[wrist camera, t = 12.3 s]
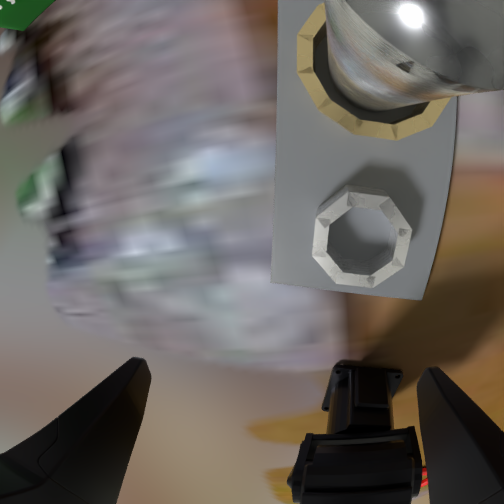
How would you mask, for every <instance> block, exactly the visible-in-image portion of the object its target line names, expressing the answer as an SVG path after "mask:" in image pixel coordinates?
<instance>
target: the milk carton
mask: <svg viewBox="0 0 504 504" xmlns="http://www.w3.org/2000/svg"><path fill="white" fill-rule="evenodd" d="M54 1H55V0H0V27H2V28H9V29H16V30H22V31H24V30H25V29H26V28H27V27H28V26H29V25H30V24H31V23H32V22H33V21H34V20H35V19H36V18H37V17H38V16H39V15H40V14H41V13H42V12H43V11H44V10H45V9H46V8H47V7H48V6H49V5H51V4H52V3H53V2H54Z"/></svg>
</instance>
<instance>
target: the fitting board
mask: <svg viewBox="0 0 504 504" xmlns="http://www.w3.org/2000/svg"><path fill="white" fill-rule="evenodd" d="M322 3H324V0H278V74H277V124H276V160H275V190H274V216H273V240H272V262H271V282H270V283H277V284H284V285H292V286H300V287H307V288H315V289H323V290H331V291H340V292H348V293H357V294H366V295H374V296H384V297H393V298H402V299H412V300H422V298H423V294H424V291H425V288H426V285H427V281H428V278H429V275H430V271H431V268H432V264H433V260H434V256H435V252H436V248H437V244H438V240H439V236H440V231H441V227H442V222H443V217H444V212H445V207H446V202H447V196H448V190H449V183H450V176H451V169H452V161H453V152H454V141H455V128H456V108H457V96H455V97H451V98H450V100H449V102H448V103H447V105H446V106H445V108H444V109H443V111H442V112H441V114H440V115H439V117H438V119H437V120H436V122H435V123H434V125H433V126H432V127H430V128H427V129H425V130H422V131H420V132H417V133H415V134H412V135H410V136H407V137H405V138H402V139H400V140H397V141H395V140H389V139H383V138H376V137H369V136H361V135H354V134H352V133H350V132H349V131H347V130H346V129H344V128H343V127H341V126H340V125H339V124H337V123H336V122H334V121H333V120H331V119H330V118H328V117H327V116H325V115H324V114H322V113H321V112H319V110H318V109H317V107H316V105H315V103H314V102H313V100H312V98H311V96H310V95H309V93H308V91H307V89H306V88H305V86H304V84H303V83H302V81H301V79H300V78H299V76H298V74H297V34H298V32H299V31H300V30H301V28H302V27H303V25H304V24H305V22H306V21H307V20H308V18H309V17H310V15H311V14H312V13H313V11H314V10H315V9H316V7H317V6H318V5H319V4H322ZM315 74H316V76H317V78H318V79H319V81H320V83H321V84H322V86H323V88H324V90H325V91H326V93H327V95H328V97H329V99H330V100H332V101H333V102H335V103H336V104H338V105H339V106H341V107H342V108H344V109H345V110H347V111H348V112H350V113H351V114H352V115H354V116H355V117H357V118H358V119H359V120H365V121H373V122H380V123H386V124H388V123H390V122H393V121H395V120H398V119H400V118H403V117H405V116H408V115H410V114H411V113H412V111H413V110H414V108H415V107H416V106H417V104H413V105H408V106H404V107H399V108H395V109H391V110H386V111H379V112H374V111H367V110H363V109H360V108H358V107H356V106H354V105H352V104H350V103H349V102H348V101H346V100H345V99H344V98H343V97H342V96H341V95H340V94H339V93H338V92H337V90H336V89H335V87H334V85H333V83H332V81H331V78H330V74H329V64H328V43H327V34H326V36H325V37H324V38H323V40H322V41H321V43H320V44H319V46H318V47H317V48H316V50H315ZM345 185H354V186H362V187H370V188H377V189H384V190H385V192H386V193H387V194H388V196H389V197H390V198H391V200H392V201H393V203H394V204H395V205H396V207H397V208H398V210H399V211H400V213H401V214H402V215H403V217H404V218H405V220H406V221H407V223H408V224H409V226H410V227H411V229H412V233H411V238H410V243H409V247H408V252H407V256H406V260H405V265H404V267H403V268H402V269H400V270H399V271H397V272H396V273H394V274H393V275H391V276H390V277H389V278H387V279H386V280H384V281H383V282H381V283H380V284H378V285H377V286H375V287H374V288H368V287H359V286H351V285H342V284H336V283H335V282H334V281H333V280H332V279H331V277H330V276H329V275H328V274H327V273H326V272H325V270H324V269H323V268H322V267H321V266H320V265H319V263H318V262H317V261H316V260H315V259H314V258H313V256H312V250H313V240H314V230H315V219H316V213H317V208H318V207H319V206H320V205H321V204H323V203H324V202H325V201H326V200H328V199H329V198H330V197H331V196H333V195H334V194H335V193H337V192H338V191H339V190H340V189H342V188H343V187H344V186H345ZM391 225H392V224H391V223H390V221H389V220H388V218H387V217H386V216H385V214H384V213H383V211H381V210H373V209H366V208H358V207H352V208H351V209H349V210H348V211H347V212H345V213H344V214H343V215H342V216H340V217H339V218H338V219H336V220H335V221H334V222H332V223H331V224H330V225H329V233H328V241H329V242H330V244H331V245H332V246H333V247H334V248H335V250H336V251H337V252H338V253H339V254H340V256H341V257H342V258H345V259H353V260H361V261H368V260H370V259H371V258H372V257H374V256H375V255H377V254H378V253H380V252H381V251H382V250H384V249H385V248H386V247H388V241H389V236H390V231H391Z"/></svg>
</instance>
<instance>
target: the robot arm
mask: <svg viewBox="0 0 504 504" xmlns="http://www.w3.org/2000/svg"><path fill="white" fill-rule="evenodd" d="M337 370H340V371H337ZM396 375H397V376H396ZM402 378H403V372H402V371H401V370H394V369H379V368H367V367H356V366H346V365H335V366H334V367H333V369H332V373H331V376H330V380H329V383H328V387H327V390H326V393H325V397H324V400H323V403H322V410H323V411H328V412H329V415H328V424H327V432H326V434H313V433H307V434H306V437H305V440H304V441H302V444H300V449H299V455H298V458H297V461H296V463H295V465H294V467H293V469H292V471H291V473H290V475H289V476H288V479H287V484H288V486H289V487H290V488H291V489H292V497H293V502H294V503H300V504H411V500H412V498H413V497H417V496H418V494H419V491H420V487H421V482H422V459H421V454H420V449H419V445H418V440H417V436H416V432H415V427H414V426H409V427H407V428H402V429H394V421H393V407H392V398H393V396H394V394H395V392H396V390H397V388H398V386H399V384H400V382H401V380H402ZM150 384H151V373H150V371H149V368H148V365H147V362H146V360H145V359H143V358H138V357H132V358H131V359H129V360H128V361H127V362H126V363H124V364H123V365H122V366H121V367H119V368H118V369H117V370H116V371H114V372H113V373H112V374H111V375H109V376H108V377H107V378H106V379H104V380H103V381H102V382H101V383H99V384H98V385H97V386H96V387H94V388H93V389H92V390H91V391H89V392H88V393H87V394H86V395H84V396H83V397H82V398H81V399H79V400H78V401H77V402H76V403H74V404H73V405H72V406H71V407H69V408H68V409H67V410H65V411H64V412H63V413H62V414H60V415H59V416H58V418H55V419H54V420H53V421H52V422H50V423H49V424H48V425H46V426H45V427H44V428H42V429H41V430H40V431H38V432H37V433H35V434H34V435H32V436H30V437H29V438H27V439H26V440H24V441H22V442H21V443H19V444H18V445H16V446H14V447H13V448H11V449H9V450H8V451H6V452H4V453H2V454H0V504H116V503H117V499H118V496H119V492H120V489H121V486H122V483H123V479H124V476H125V473H126V470H127V466H128V463H129V460H130V456H131V454H132V451H133V448H134V444H135V441H136V438H137V435H138V432H139V429H140V426H141V423H142V420H143V415H144V411H145V407H146V402H147V397H148V393H149V388H150ZM417 397H418V408H419V421H420V430H421V436H422V442H423V449H424V455H425V462H426V470H427V478H428V487H429V498H430V504H504V432H503V431H502V430H501V429H500V428H499V427H498V426H497V425H496V424H495V423H494V422H493V421H492V420H491V419H490V418H489V416H488V415H487V414H486V413H485V412H484V411H483V410H482V409H481V408H480V407H479V406H478V405H477V404H476V403H475V402H474V401H473V400H472V399H471V398H470V397H469V396H468V395H467V394H466V393H465V392H464V391H463V390H462V389H461V388H460V387H458V386H457V385H456V384H455V383H454V382H453V381H452V380H451V379H450V378H449V377H448V376H447V375H446V374H445V373H444V372H443V371H442V370H441V369H440V368H439V367H428V368H426V369H425V370H424V372H423V374H422V376H421V378H420V379H419V381H418V383H417Z"/></svg>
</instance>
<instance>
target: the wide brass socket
mask: <svg viewBox="0 0 504 504" xmlns="http://www.w3.org/2000/svg"><path fill="white" fill-rule="evenodd" d="M326 34H327V27H326V13H325V2H324V3H322V4H319V5H318V6H317V7H316V9H315V10H314V11H313V13H312V14H311V15H310V17H309V18H308V20H307V21H306V22H305V24H304V25H303V27H302V28H301V30H300V31H299V32H298V34H297V74H298V76H299V78H300V79H301V81H302V83H303V84H304V86H305V88H306V89H307V91H308V93H309V95H310V96H311V98H312V100H313V102H314V103H315V105H316V107H317V109H318V110H319V112H321V113H322V114H324V115H325V116H327V117H328V118H330V119H331V120H333V121H334V122H336V123H337V124H339V125H340V126H341V127H343V128H344V129H346V130H347V131H349V132H350V133H352V134H354V135H361V136H369V137H376V138H383V139H389V140H395V141H397V140H400V139H402V138H405V137H407V136H410V135H412V134H415V133H417V132H420V131H422V130H425V129H427V128H430V127H432V126H433V125H434V123H435V122H436V120H437V119H438V117H439V115H440V114H441V112H442V111H443V109H444V108H445V106H446V105H447V103H448V102H449V100H450V98H451V97H449V98H443V99H438V100H433V101H428V102H423V103H418V104H417V106H416V107H415V108H414V110H413V111H412V113H411V114H410V115H408V116H405V117H403V118H400V119H398V120H395V121H393V122H390V123H388V124H386V123H380V122H373V121H365V120H359V119H358V118H357V117H355V116H354V115H352V114H351V113H350V112H348V111H347V110H345V109H344V108H342V107H341V106H339V105H338V104H336V103H335V102H333V101H332V100H330V99H329V97H328V95H327V93H326V91H325V90H324V88H323V86H322V84H321V83H320V81H319V79H318V78H317V76H316V74H315V50H316V48H317V47H318V46H319V44H320V43H321V41H322V40H323V38H324V37H325V36H326Z"/></svg>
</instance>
